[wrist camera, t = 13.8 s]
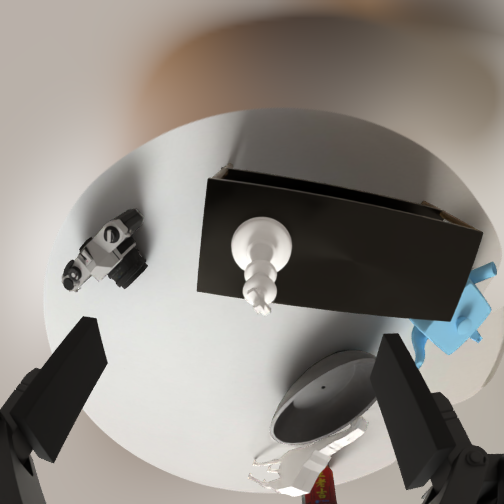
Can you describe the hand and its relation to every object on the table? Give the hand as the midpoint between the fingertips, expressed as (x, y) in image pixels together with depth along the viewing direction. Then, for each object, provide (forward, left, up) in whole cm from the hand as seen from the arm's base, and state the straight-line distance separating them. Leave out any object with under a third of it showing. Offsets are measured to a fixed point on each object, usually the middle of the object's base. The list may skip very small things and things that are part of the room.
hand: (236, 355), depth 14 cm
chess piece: (0, +1, -14) cm, 14 cm away
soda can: (+56, -14, -27) cm, 64 cm away
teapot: (+23, +18, -27) cm, 40 cm away
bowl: (+29, -3, -27) cm, 40 cm away
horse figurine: (+44, -12, -27) cm, 53 cm away
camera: (-3, -19, -27) cm, 33 cm away
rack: (+6, +8, -27) cm, 29 cm away
